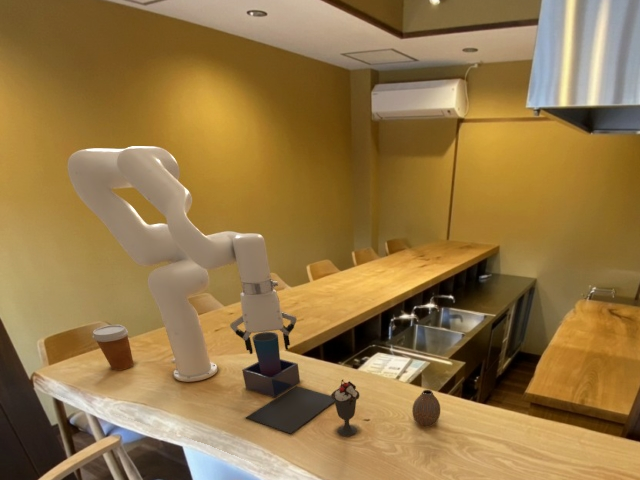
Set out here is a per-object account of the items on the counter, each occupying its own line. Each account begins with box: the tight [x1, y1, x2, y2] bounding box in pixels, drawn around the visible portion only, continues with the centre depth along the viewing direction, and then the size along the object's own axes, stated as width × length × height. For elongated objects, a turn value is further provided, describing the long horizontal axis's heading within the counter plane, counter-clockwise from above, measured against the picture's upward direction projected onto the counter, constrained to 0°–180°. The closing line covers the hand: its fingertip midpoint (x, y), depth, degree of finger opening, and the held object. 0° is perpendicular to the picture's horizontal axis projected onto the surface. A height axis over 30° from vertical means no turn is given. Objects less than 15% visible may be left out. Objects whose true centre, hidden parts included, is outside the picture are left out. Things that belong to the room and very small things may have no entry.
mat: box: [245, 385, 335, 435], centre depth 112 cm, size 15×20×1 cm
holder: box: [241, 358, 301, 399], centre depth 121 cm, size 11×11×6 cm
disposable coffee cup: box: [92, 324, 135, 371], centre depth 131 cm, size 10×10×12 cm
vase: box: [411, 389, 441, 428], centre depth 103 cm, size 7×7×9 cm
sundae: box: [330, 379, 360, 438], centre depth 98 cm, size 7×7×15 cm
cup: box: [252, 331, 281, 377], centre depth 119 cm, size 7×7×15 cm
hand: (269, 350), depth 117 cm, fingers open, 9 cm apart
